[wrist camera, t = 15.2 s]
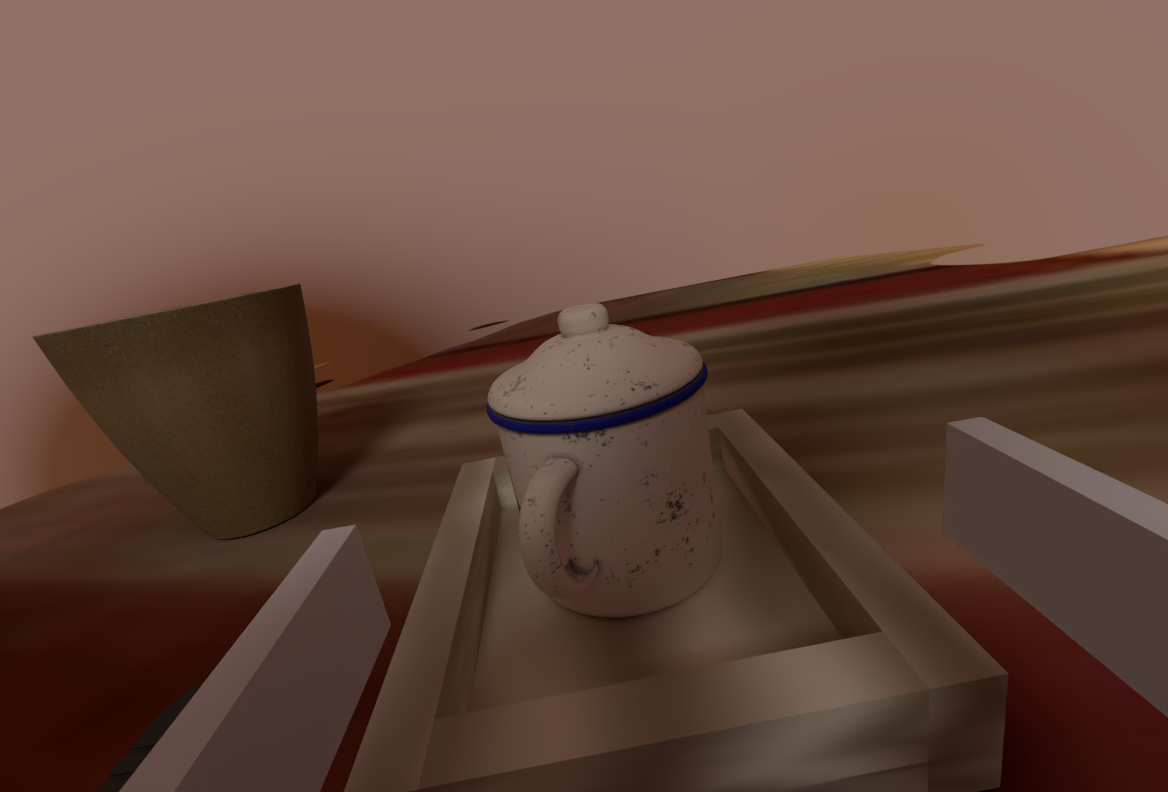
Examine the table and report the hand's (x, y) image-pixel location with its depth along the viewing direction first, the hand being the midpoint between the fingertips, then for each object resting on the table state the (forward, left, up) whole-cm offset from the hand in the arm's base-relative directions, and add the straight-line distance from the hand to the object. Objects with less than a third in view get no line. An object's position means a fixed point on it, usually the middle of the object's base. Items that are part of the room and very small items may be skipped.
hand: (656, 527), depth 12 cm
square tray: (0, -10, -10) cm, 14 cm away
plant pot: (+26, -28, -10) cm, 40 cm away
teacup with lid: (+1, -10, -8) cm, 13 cm away
